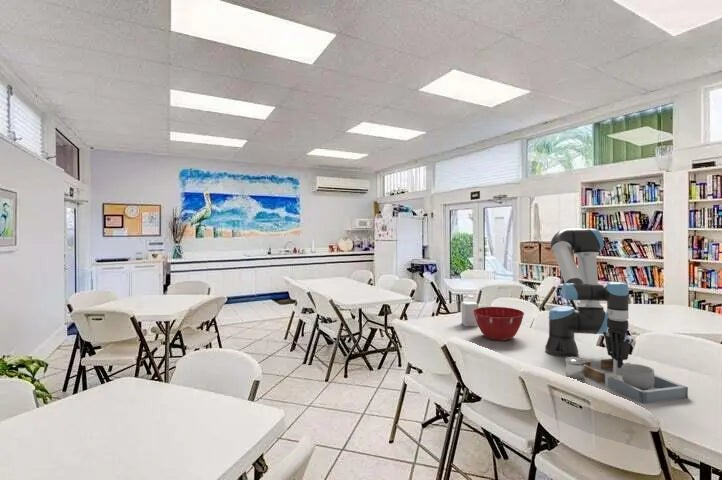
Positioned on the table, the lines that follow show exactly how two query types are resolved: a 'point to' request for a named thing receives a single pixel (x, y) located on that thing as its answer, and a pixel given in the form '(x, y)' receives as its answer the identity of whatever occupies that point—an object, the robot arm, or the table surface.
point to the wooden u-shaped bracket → (596, 373)
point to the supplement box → (469, 313)
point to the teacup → (638, 376)
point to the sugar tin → (575, 368)
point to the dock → (666, 391)
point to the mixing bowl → (498, 322)
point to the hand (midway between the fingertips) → (617, 374)
